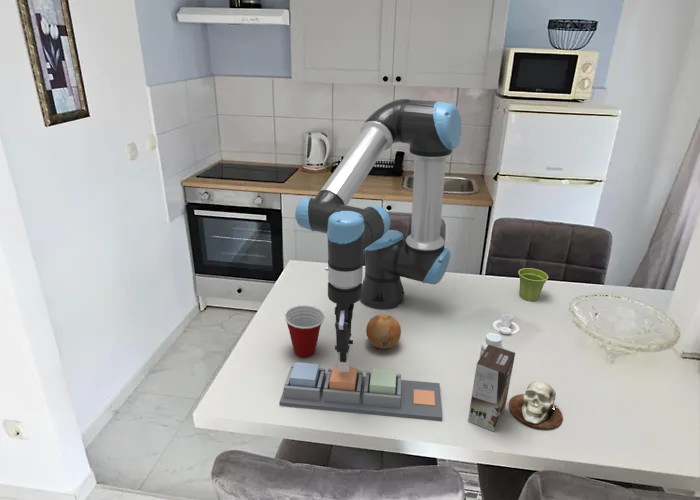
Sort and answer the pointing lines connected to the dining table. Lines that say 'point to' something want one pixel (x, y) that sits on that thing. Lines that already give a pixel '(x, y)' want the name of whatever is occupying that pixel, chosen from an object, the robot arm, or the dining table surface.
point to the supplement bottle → (491, 342)
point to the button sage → (383, 382)
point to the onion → (383, 331)
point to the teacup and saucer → (506, 324)
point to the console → (367, 397)
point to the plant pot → (531, 283)
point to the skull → (536, 406)
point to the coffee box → (491, 387)
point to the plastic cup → (304, 328)
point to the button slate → (304, 375)
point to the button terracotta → (343, 379)
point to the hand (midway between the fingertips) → (343, 369)
